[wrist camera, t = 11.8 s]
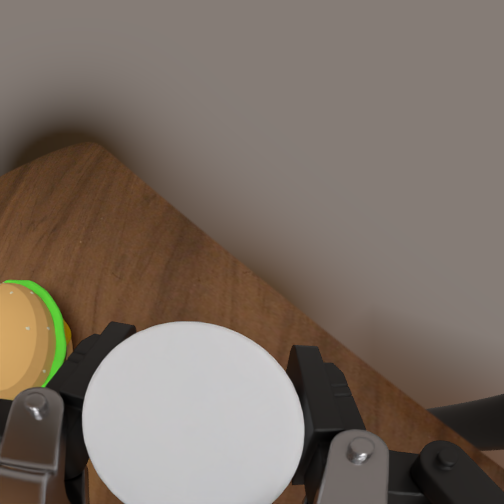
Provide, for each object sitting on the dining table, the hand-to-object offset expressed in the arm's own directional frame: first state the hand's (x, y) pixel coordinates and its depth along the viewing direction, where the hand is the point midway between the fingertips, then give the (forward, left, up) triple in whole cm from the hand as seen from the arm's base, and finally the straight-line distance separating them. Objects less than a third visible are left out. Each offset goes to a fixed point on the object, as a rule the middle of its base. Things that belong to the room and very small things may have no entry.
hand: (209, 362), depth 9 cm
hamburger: (+16, -9, -18) cm, 26 cm away
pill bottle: (+1, +2, -4) cm, 5 cm away
